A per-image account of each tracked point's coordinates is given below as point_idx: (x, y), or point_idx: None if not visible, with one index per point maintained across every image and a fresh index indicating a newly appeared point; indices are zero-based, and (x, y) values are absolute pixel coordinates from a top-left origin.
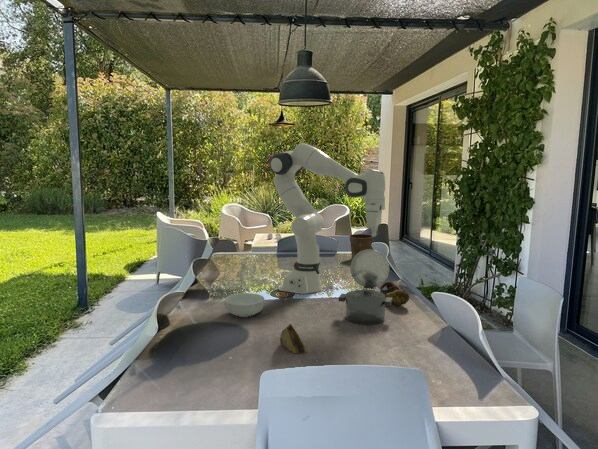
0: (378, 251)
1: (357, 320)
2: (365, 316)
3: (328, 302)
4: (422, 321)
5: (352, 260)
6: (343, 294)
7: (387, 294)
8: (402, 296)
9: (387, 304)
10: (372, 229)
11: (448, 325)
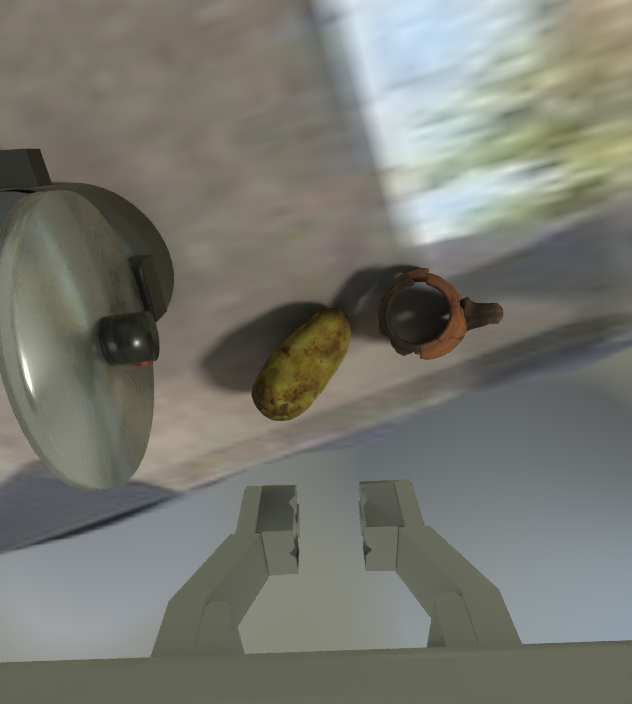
0: (68, 480)
1: None
2: None
3: (220, 6)
4: (173, 438)
5: (12, 217)
6: (14, 165)
7: (305, 332)
8: (254, 402)
9: None
10: (180, 612)
11: (177, 493)
